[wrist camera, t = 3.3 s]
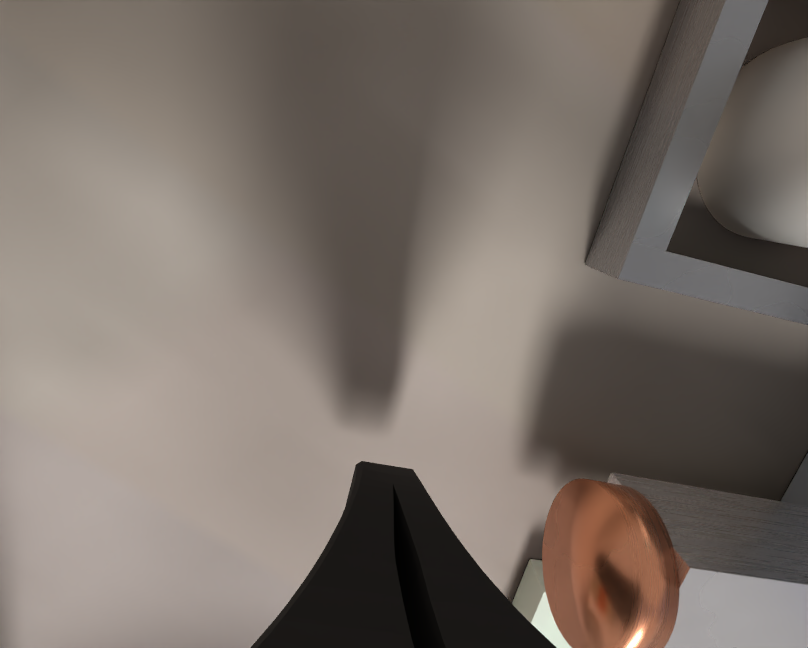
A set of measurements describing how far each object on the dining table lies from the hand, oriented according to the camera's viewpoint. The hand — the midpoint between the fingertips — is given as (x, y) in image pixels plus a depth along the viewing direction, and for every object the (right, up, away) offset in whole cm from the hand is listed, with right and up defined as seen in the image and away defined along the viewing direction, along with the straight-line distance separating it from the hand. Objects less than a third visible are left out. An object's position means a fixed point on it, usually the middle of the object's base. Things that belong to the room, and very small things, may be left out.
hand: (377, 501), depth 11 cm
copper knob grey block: (+9, -2, +2) cm, 9 cm away
